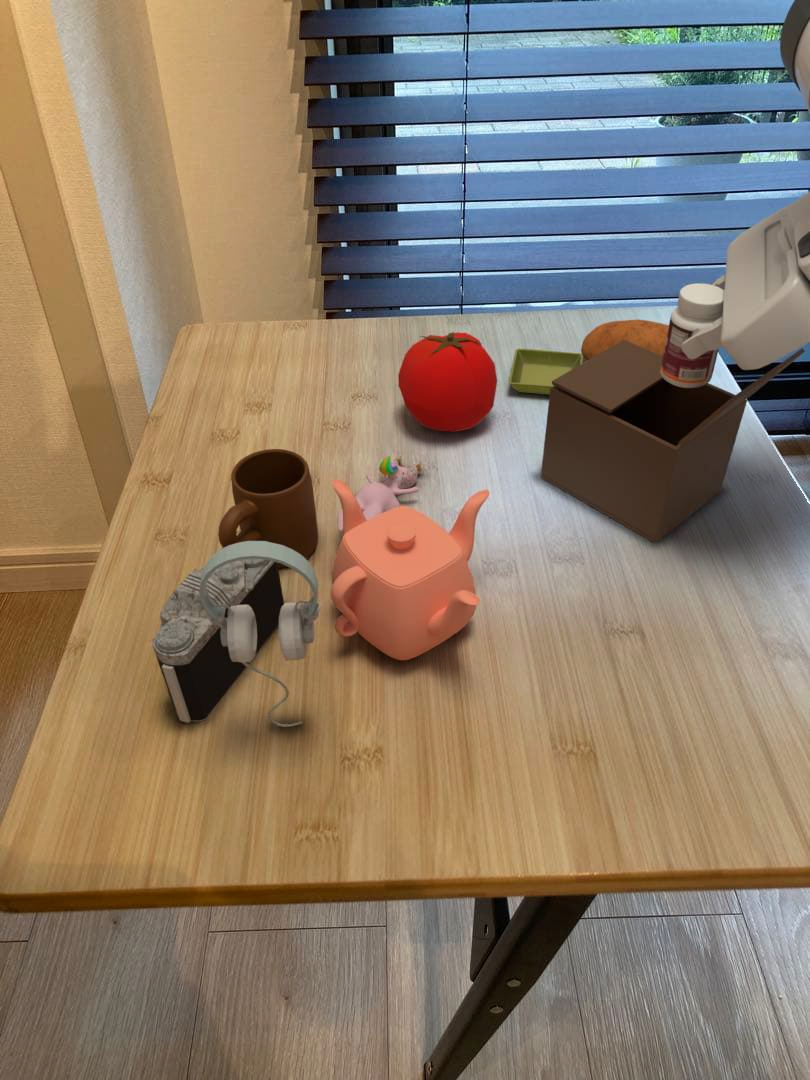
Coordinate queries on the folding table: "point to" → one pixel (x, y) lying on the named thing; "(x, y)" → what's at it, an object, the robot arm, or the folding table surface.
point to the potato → (626, 336)
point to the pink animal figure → (384, 489)
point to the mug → (272, 502)
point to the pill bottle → (693, 311)
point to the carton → (636, 440)
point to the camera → (212, 633)
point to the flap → (741, 396)
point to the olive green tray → (540, 369)
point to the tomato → (448, 382)
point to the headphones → (241, 618)
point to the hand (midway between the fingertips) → (687, 333)
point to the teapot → (403, 576)
